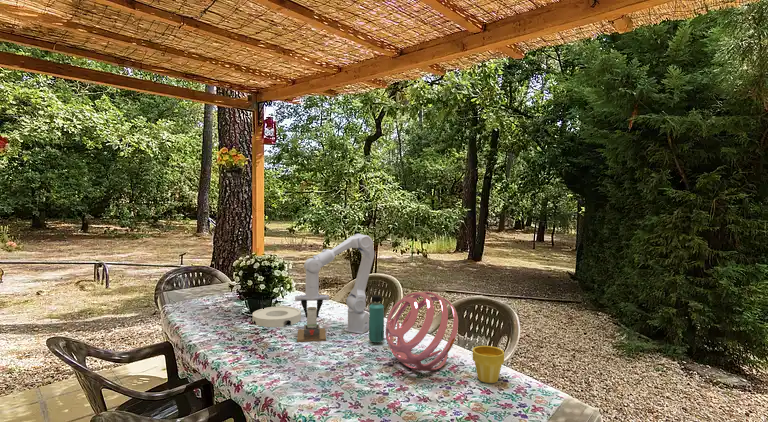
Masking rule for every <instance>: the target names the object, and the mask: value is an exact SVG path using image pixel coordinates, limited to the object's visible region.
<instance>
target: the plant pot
mask: <svg viewBox="0 0 768 422" xmlns="http://www.w3.org/2000/svg"><path fill="white" fill-rule="evenodd" d="M472 360H473V362H474V365H475V369H476V375H477V379H478V381H480V382H482V383H484V384H485V383H487V384H495V383H498V381H499V377H500V373H501V369H502V367H503V364H504V363H505V351H504V350H502V349H501V348H499V347H496V346H490V345H479V346H475V347H473V348H472Z"/></svg>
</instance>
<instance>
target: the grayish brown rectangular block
mask: <svg viewBox="0 0 768 422" xmlns="http://www.w3.org/2000/svg"><path fill="white" fill-rule="evenodd" d="M317 319H318V317H317V306H307V318H306V325H307V328H317V324H318V323H317Z"/></svg>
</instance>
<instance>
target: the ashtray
mask: <svg viewBox="0 0 768 422" xmlns="http://www.w3.org/2000/svg"><path fill="white" fill-rule="evenodd" d="M251 319H252V322H253V323H254V322H255V323H254V324H255V326H257V325H259V326H258V327H261V326H264V327H263V328H281V327H284V326H286V325H287V324H288V323H289V322H290V325H291V326H292V325H294V324H295V325H296V324H298V323H299V322H300V321H301V320H302V311H301V310H300V309H299V308H297V307H293V306H268V307H264V309H263V308H260V309H257V310H254V311H253V312H252V318H251ZM253 323H252V324H253Z"/></svg>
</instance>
